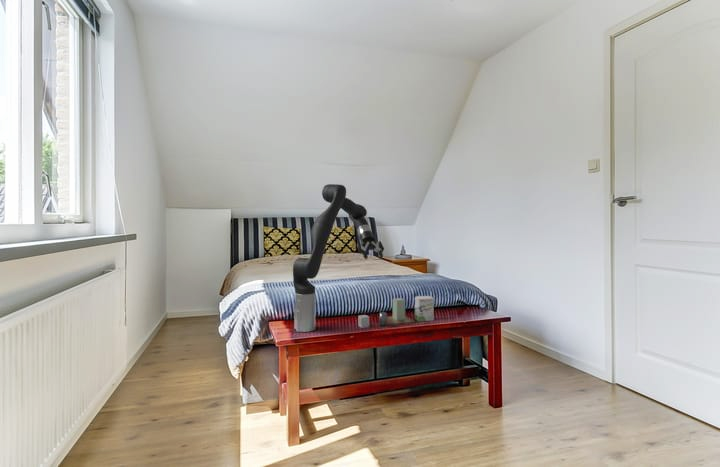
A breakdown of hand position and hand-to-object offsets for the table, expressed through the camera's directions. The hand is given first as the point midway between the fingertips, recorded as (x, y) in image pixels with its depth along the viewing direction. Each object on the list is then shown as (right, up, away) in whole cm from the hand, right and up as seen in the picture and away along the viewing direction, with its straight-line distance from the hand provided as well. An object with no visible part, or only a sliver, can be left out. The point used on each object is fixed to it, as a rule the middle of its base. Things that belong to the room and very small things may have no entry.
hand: (374, 257), depth 206 cm
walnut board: (+12, -31, -9) cm, 35 cm away
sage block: (+12, -30, -9) cm, 34 cm away
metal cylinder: (+3, -31, -17) cm, 36 cm away
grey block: (-6, -32, -19) cm, 37 cm away
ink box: (+25, -31, -7) cm, 41 cm away
